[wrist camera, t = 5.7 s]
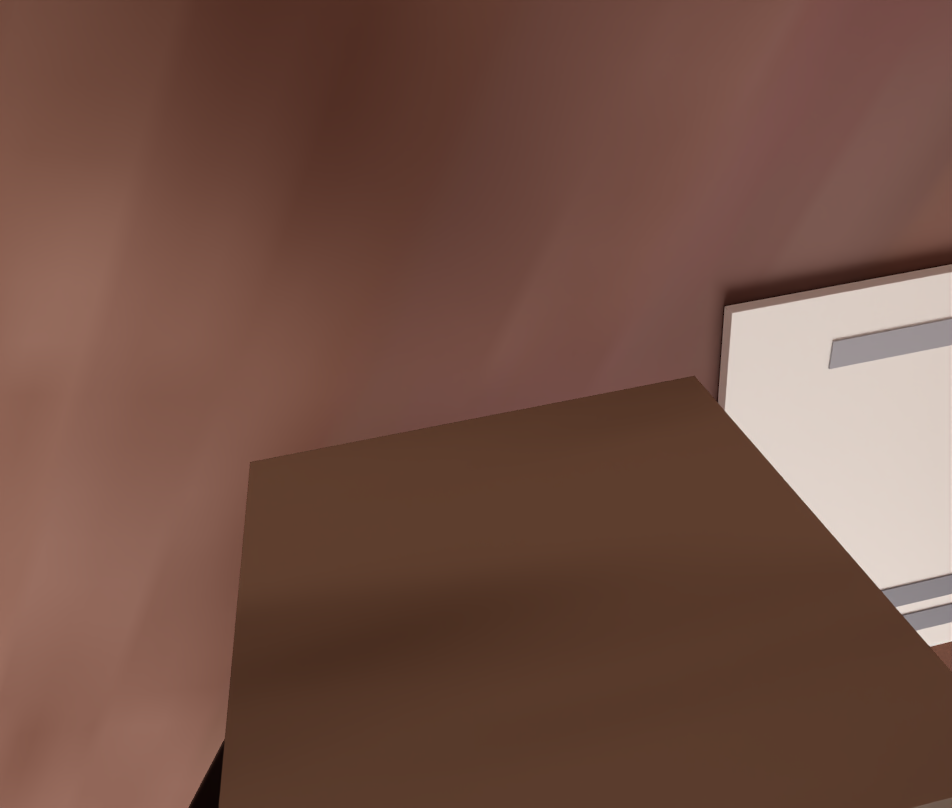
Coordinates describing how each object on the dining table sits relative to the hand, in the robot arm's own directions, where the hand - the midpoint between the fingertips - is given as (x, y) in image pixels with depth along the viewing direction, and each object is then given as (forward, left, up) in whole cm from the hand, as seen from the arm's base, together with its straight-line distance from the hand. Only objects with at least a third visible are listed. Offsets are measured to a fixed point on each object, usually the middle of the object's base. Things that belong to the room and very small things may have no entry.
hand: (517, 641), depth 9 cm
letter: (-10, +5, -6) cm, 13 cm away
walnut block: (0, 0, -1) cm, 1 cm away
